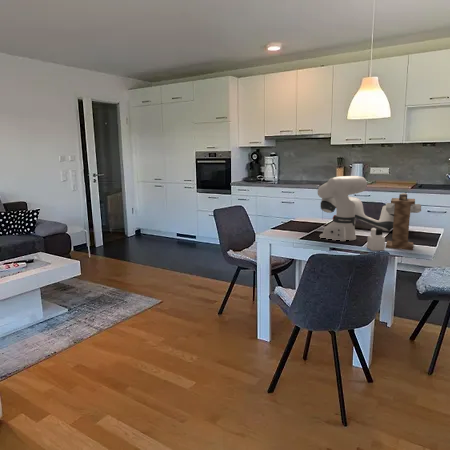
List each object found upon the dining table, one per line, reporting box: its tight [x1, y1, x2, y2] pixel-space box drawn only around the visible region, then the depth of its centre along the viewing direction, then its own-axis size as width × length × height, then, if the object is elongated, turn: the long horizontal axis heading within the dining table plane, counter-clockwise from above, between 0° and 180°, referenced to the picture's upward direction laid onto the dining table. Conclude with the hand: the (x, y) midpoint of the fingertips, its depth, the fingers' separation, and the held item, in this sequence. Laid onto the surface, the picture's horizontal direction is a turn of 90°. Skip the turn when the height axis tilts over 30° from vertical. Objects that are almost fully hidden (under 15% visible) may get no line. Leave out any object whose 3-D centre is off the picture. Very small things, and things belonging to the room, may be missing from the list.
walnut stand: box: [385, 197, 416, 251], centre depth 218 cm, size 14×12×27 cm
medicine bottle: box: [366, 227, 386, 252], centre depth 215 cm, size 7×7×12 cm
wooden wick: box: [398, 192, 408, 200], centre depth 220 cm, size 4×16×3 cm, turn 154°
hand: (403, 203), depth 236 cm, fingers open, 8 cm apart
